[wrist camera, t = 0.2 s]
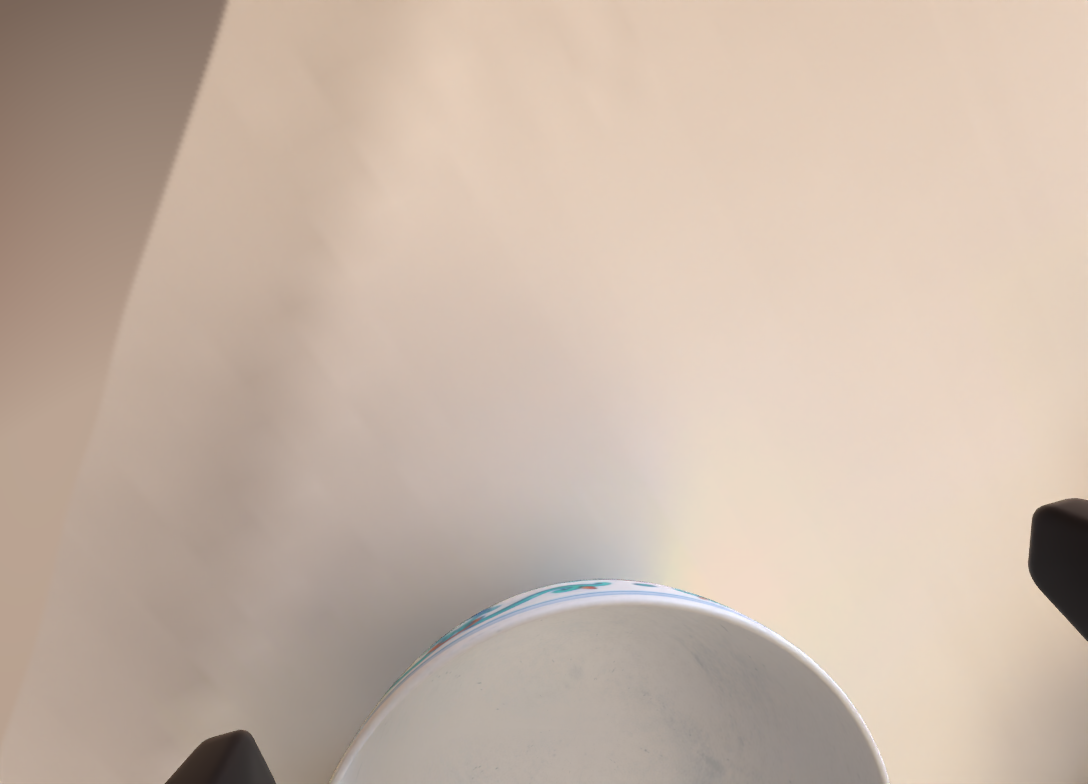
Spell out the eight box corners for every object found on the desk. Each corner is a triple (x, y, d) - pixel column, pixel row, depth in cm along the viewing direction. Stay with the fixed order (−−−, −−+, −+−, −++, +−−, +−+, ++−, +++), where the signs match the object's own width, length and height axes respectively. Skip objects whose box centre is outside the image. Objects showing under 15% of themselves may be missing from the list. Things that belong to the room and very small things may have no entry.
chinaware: (641, 954, 25) (714, 1232, 17) (280, 803, 23) (182, 1044, 15) (838, 619, 24) (1004, 754, 17) (487, 432, 22) (495, 488, 15)
